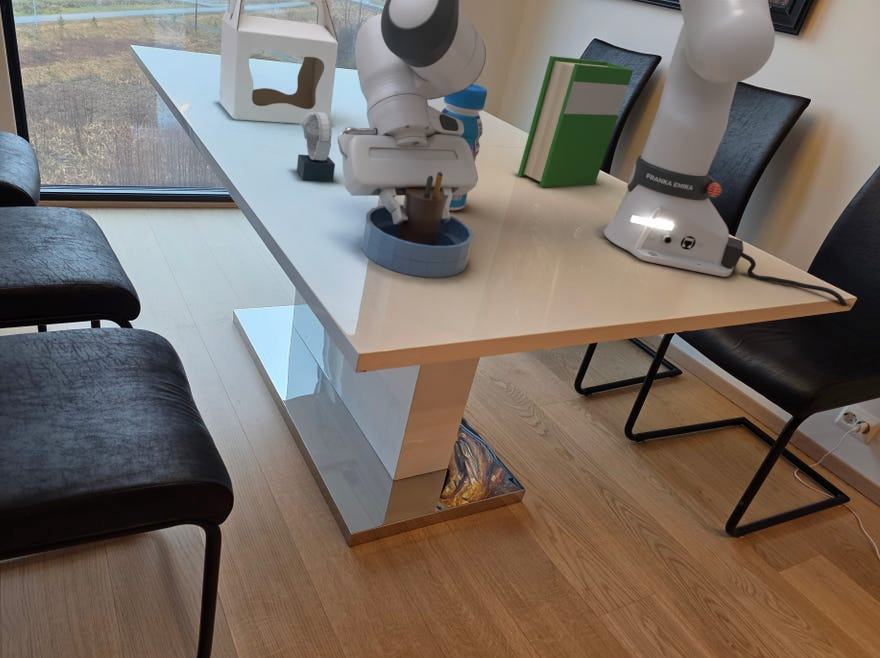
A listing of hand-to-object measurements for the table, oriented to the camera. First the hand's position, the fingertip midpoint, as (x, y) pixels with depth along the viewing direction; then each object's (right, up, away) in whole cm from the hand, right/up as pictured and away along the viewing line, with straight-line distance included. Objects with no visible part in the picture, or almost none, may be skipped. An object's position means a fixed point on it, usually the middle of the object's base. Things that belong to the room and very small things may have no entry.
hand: (423, 222), depth 93 cm
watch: (-19, +13, +27) cm, 35 cm away
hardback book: (+31, +20, +54) cm, 66 cm away
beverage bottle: (+4, +9, +26) cm, 28 cm away
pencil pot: (-1, -4, +3) cm, 5 cm away
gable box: (-32, +36, +59) cm, 76 cm away
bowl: (-1, -4, +3) cm, 6 cm away
